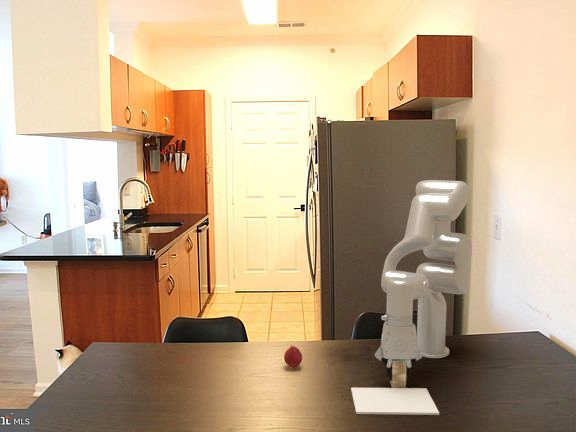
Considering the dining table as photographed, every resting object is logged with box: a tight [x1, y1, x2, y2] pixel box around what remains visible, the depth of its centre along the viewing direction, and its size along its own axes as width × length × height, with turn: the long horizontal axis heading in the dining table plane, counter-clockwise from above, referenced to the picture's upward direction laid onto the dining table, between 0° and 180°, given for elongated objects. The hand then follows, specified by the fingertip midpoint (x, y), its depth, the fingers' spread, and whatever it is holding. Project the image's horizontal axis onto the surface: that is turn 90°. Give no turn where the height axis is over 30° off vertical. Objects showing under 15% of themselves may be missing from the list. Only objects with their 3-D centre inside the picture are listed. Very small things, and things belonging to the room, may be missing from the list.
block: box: [389, 359, 407, 388], centre depth 149 cm, size 4×4×10 cm
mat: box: [350, 387, 440, 416], centre depth 140 cm, size 22×14×1 cm, turn 89°
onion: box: [283, 344, 303, 369], centre depth 162 cm, size 6×6×8 cm
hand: (397, 378), depth 150 cm, fingers closed on block, 4 cm apart
